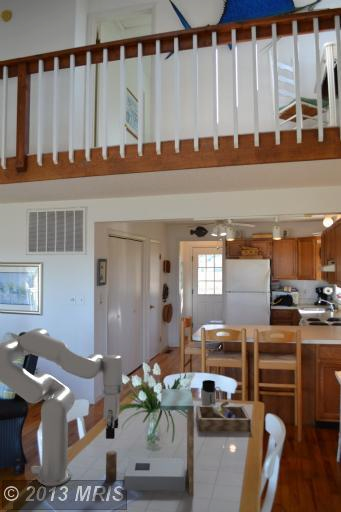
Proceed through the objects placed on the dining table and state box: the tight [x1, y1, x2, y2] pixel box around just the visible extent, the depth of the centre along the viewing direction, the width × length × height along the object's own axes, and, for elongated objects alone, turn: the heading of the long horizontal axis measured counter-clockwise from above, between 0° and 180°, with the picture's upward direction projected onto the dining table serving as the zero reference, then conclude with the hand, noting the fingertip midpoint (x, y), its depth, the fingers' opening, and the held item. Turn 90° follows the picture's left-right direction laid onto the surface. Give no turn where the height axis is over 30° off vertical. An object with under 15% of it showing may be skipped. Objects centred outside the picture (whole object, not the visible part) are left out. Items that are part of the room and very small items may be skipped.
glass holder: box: [201, 379, 222, 406], centre depth 228 cm, size 9×14×15 cm, turn 38°
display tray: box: [195, 405, 252, 433], centre depth 205 cm, size 26×20×6 cm
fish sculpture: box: [211, 401, 236, 418], centre depth 205 cm, size 12×20×15 cm
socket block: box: [124, 457, 186, 492], centre depth 149 cm, size 22×14×5 cm, turn 90°
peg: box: [105, 450, 118, 484], centre depth 149 cm, size 4×4×10 cm
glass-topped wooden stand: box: [160, 388, 195, 496], centre depth 150 cm, size 12×20×32 cm, turn 0°
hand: (112, 433), depth 150 cm, fingers open, 9 cm apart
